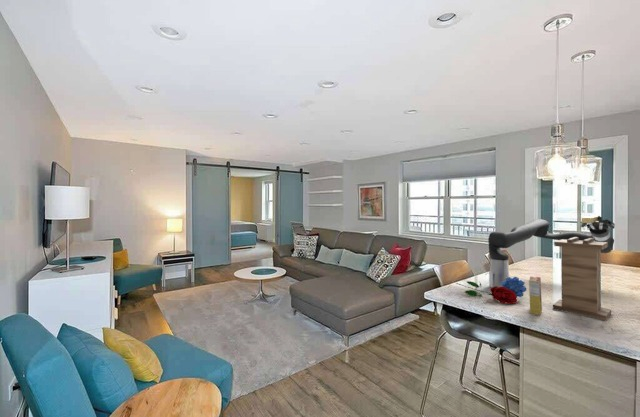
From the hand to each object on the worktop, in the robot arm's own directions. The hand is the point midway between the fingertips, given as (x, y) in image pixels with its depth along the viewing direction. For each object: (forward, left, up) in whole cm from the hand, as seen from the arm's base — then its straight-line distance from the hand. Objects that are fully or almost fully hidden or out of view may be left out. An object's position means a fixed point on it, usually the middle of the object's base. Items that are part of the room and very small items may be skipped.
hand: (594, 217), depth 149 cm
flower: (-56, -11, -43) cm, 71 cm away
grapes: (-41, -10, -43) cm, 60 cm away
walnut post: (-19, -24, -42) cm, 52 cm away
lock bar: (-5, -6, -2) cm, 8 cm away
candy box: (-39, -28, -43) cm, 64 cm away
